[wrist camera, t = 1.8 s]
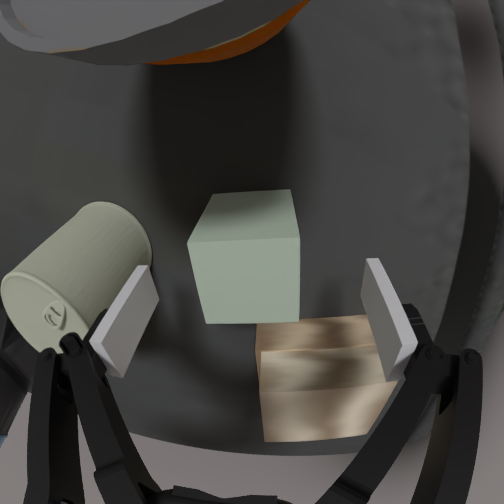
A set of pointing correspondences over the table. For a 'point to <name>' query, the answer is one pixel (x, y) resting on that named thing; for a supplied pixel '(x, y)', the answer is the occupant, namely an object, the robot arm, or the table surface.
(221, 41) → the reusable coffee cup
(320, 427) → the tower top
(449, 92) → the table surface
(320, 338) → the block
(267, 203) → the green block
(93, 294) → the can
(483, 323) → the table surface
